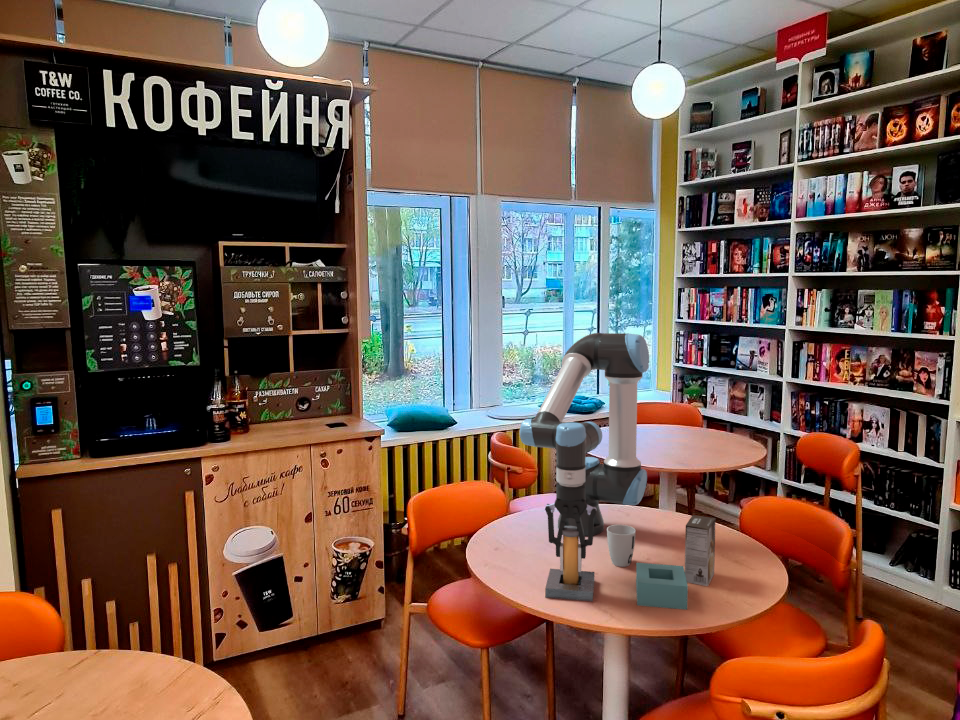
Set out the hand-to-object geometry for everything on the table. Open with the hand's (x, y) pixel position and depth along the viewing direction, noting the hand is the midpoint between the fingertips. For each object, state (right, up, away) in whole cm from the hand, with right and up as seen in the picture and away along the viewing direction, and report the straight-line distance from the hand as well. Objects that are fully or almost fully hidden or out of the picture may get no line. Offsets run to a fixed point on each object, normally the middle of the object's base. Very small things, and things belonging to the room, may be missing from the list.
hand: (570, 568), depth 172 cm
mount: (0, -5, 0) cm, 5 cm away
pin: (0, -5, +1) cm, 5 cm away
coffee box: (+36, -5, +6) cm, 37 cm away
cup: (+17, -4, +16) cm, 24 cm away
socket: (+23, -6, -4) cm, 24 cm away
